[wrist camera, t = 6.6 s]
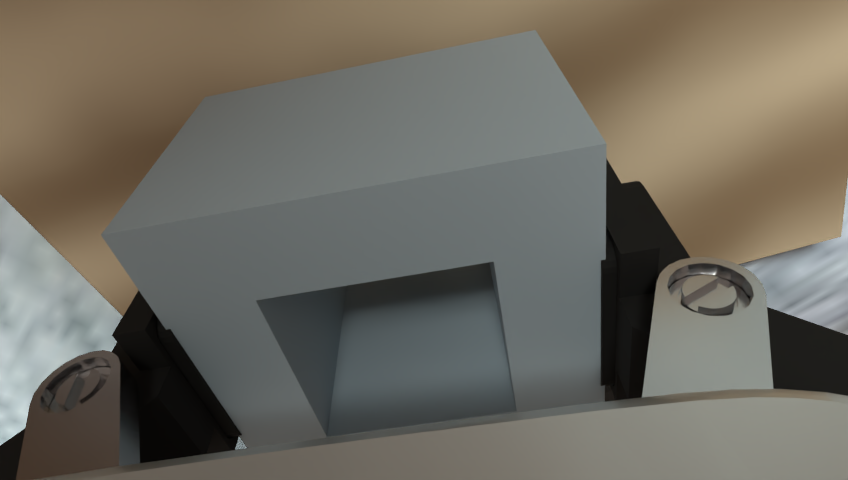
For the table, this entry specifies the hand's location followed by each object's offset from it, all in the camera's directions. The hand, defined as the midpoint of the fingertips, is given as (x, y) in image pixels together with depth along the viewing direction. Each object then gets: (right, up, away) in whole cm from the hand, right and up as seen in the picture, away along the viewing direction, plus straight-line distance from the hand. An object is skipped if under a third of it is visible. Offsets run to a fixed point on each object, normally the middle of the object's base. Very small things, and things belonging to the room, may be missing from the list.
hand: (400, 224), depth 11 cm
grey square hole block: (0, -1, +2) cm, 2 cm away
